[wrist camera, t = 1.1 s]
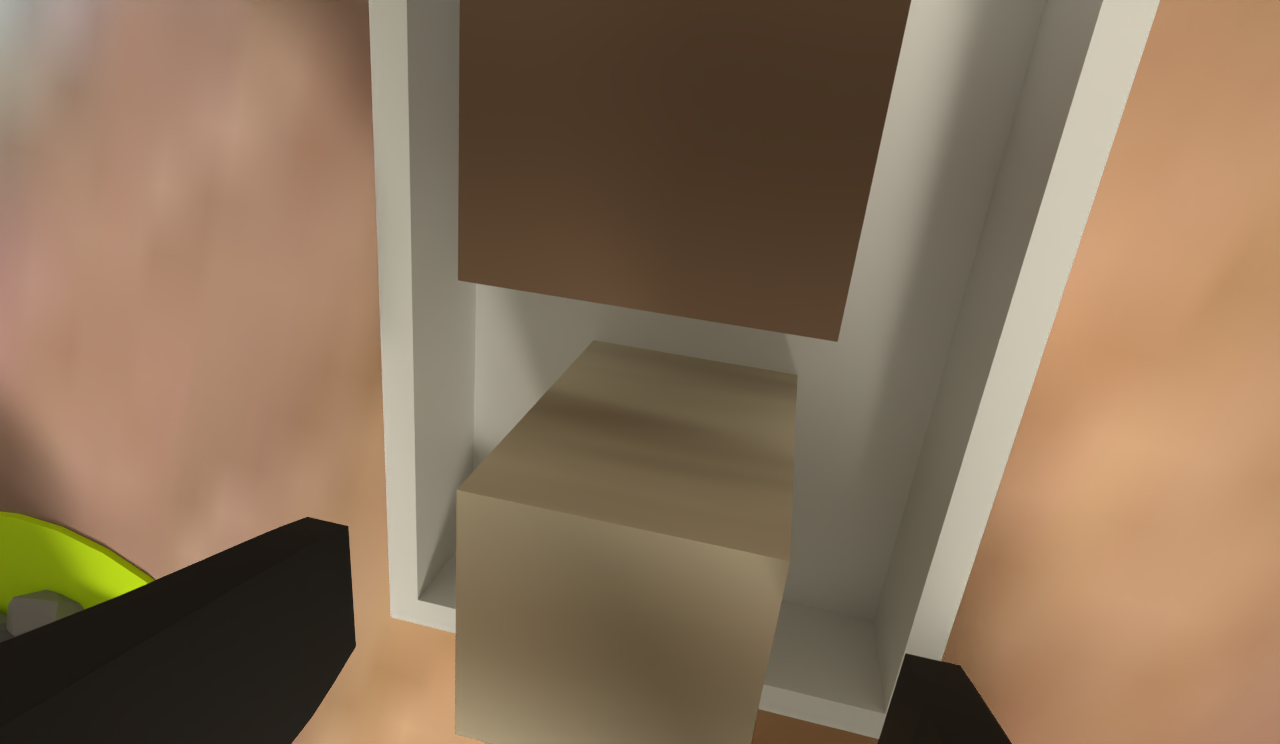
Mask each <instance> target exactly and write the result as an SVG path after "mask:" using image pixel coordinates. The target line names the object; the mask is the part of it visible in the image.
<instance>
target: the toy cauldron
mask: <svg viewBox="0 0 1280 744" xmlns="http://www.w3.org/2000/svg"><path fill="white" fill-rule="evenodd" d="M153 581H155V580H154V579H152V578H151V577H150V576H148V575H147V574H145V573H144V572H142V571H141V570H139V569H138V568H136V567H135V566H133V565H132V564H130V563H129V562H127V561H126V560H124V559H123V558H121V557H120V556H118V555H117V554H115V553H114V552H112V551H111V550H109V549H108V548H105V547H103V546H101V545H99V544H97V543H95V542H93V541H91V540H89V539H87V538H85V537H83V536H81V535H79V534H77V533H75V532H73V531H70V530H68V529H66V528H64V527H62V526H58V525H55V524H52V523H49V522H45V521H42V520H39V519H36V518H32V517H29V516H26V515H23V514H19V513H10V512H1V511H0V643H1V642H3V641H6V640H9V639H11V638H14V637H17V636H19V635H22V634H24V633H27V632H29V631H32V630H34V629H37V628H39V627H42V626H44V625H47V624H49V623H52V622H54V621H57V620H59V619H62V618H64V617H67V616H70V615H72V614H75V613H77V612H80V611H82V610H85V609H87V608H90V607H92V606H95V605H97V604H100V603H102V602H105V601H107V600H110V599H112V598H115V597H117V596H120V595H122V594H125V593H127V592H129V591H132V590H134V589H136V588H139V587H141V586H143V585H146V584H148V583H150V582H153Z"/></svg>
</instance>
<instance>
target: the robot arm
mask: <svg viewBox="0 0 1280 744" xmlns="http://www.w3.org/2000/svg"><path fill="white" fill-rule="evenodd" d="M355 647H356V641H355V626H354V610H353V594H352V578H351V563H350V547H349V531H348V526H345V525H341V524H336V523H332V522H327V521H323V520H319V519H314V518H310V517H306V518H303V519H301V520H298V521H295V522H292V523H289V524H287V525H284V526H282V527H279V528H277V529H274V530H272V531H269V532H267V533H264V534H262V535H260V536H257V537H255V538H253V539H250V540H248V541H245V542H243V543H241V544H239V545H236V546H234V547H232V548H229V549H227V550H225V551H222V552H220V553H218V554H215V555H213V556H211V557H209V558H206V559H204V560H202V561H199V562H197V563H195V564H192V565H190V566H188V567H185V568H183V569H181V570H178V571H176V572H174V573H171V574H169V575H167V576H164V577H162V578H160V579H157V580H155V581H153V582H150V583H148V584H146V585H143V586H141V587H139V588H136V589H134V590H132V591H129V592H127V593H125V594H122V595H120V596H117V597H115V598H112V599H110V600H107V601H105V602H102V603H100V604H97V605H95V606H92V607H90V608H87V609H85V610H82V611H80V612H77V613H75V614H72V615H70V616H67V617H64V618H62V619H59V620H57V621H54V622H52V623H49V624H47V625H44V626H42V627H39V628H37V629H34V630H32V631H29V632H27V633H24V634H22V635H19V636H17V637H14V638H11V639H9V640H6V641H3V642H1V643H0V744H291V743H292V742H293V741H294V739H295V738H296V737H297V736H298V734H299V733H300V732H301V730H302V729H303V728H304V727H305V725H306V724H307V723H308V721H309V720H310V719H311V717H312V716H313V714H314V713H315V711H316V710H317V708H318V707H319V705H320V704H321V702H322V701H323V699H324V697H325V696H326V694H327V693H328V691H329V690H330V688H331V687H332V685H333V683H334V682H335V680H336V678H337V677H338V675H339V673H340V672H341V670H342V668H343V667H344V665H345V663H346V662H347V660H348V658H349V657H350V655H351V653H352V652H353V650H354V648H355ZM878 744H1012V743H1011V742H1010V740H1009V739H1008V737H1007V735H1006V734H1005V732H1004V731H1003V729H1002V728H1001V726H1000V725H999V723H998V722H997V720H996V719H995V717H994V716H993V714H992V713H991V711H990V710H989V708H988V707H987V705H986V703H985V702H984V700H983V699H982V697H981V696H980V694H979V693H978V691H977V690H976V688H975V687H974V685H973V684H972V682H971V681H970V679H969V678H968V676H967V675H966V673H965V672H964V671H963V669H962V668H961V666H960V665H955V664H951V663H946V662H942V661H938V660H933V659H929V658H924V657H920V656H916V655H911V654H907V653H905V657H904V660H903V663H902V666H901V670H900V673H899V676H898V679H897V683H896V686H895V689H894V692H893V696H892V699H891V702H890V705H889V708H888V712H887V715H886V718H885V721H884V725H883V728H882V731H881V734H880V738H879V741H878Z"/></svg>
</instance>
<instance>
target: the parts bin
mask: <svg viewBox="0 0 1280 744" xmlns="http://www.w3.org/2000/svg"><path fill="white" fill-rule="evenodd" d="M1159 2H1160V0H911V4H910V9H909V14H908V18H907V23H906V28H905V32H904V37H903V41H902V46H901V51H900V55H899V60H898V65H897V69H896V74H895V78H894V83H893V88H892V92H891V97H890V102H889V106H888V111H887V115H886V120H885V125H884V129H883V134H882V139H881V143H880V148H879V153H878V157H877V162H876V166H875V171H874V176H873V180H872V185H871V190H870V194H869V199H868V203H867V208H866V213H865V217H864V222H863V227H862V231H861V236H860V240H859V245H858V250H857V254H856V259H855V264H854V268H853V273H852V278H851V282H850V287H849V291H848V296H847V301H846V305H845V310H844V315H843V319H842V324H841V328H840V333H839V338H838V342H835V341H829V340H823V339H816V338H810V337H804V336H798V335H792V334H785V333H779V332H773V331H767V330H761V329H755V328H748V327H742V326H736V325H730V324H724V323H718V322H711V321H705V320H699V319H693V318H687V317H680V316H674V315H668V314H662V313H656V312H650V311H643V310H637V309H631V308H625V307H619V306H613V305H606V304H600V303H594V302H588V301H582V300H575V299H569V298H563V297H557V296H551V295H545V294H538V293H532V292H526V291H520V290H514V289H508V288H501V287H495V286H489V285H483V284H477V283H470V282H464V281H458V184H459V27H460V0H369V24H370V52H371V80H372V108H373V136H374V164H375V191H376V219H377V247H378V275H379V303H380V331H381V359H382V386H383V414H384V442H385V470H386V498H387V526H388V554H389V581H390V609H391V617H392V618H396V619H400V620H404V621H408V622H412V623H416V624H420V625H424V626H428V627H432V628H436V629H440V630H444V631H448V632H452V633H456V498H457V489H458V488H459V487H460V486H461V484H462V483H463V482H464V481H465V480H466V479H467V478H468V477H469V476H470V475H471V474H472V472H473V471H474V470H475V469H476V468H477V467H478V466H479V465H480V464H481V463H482V461H483V460H484V459H485V458H486V457H487V456H488V455H489V454H490V453H491V452H492V451H493V449H494V448H495V447H496V446H497V445H498V444H499V443H500V442H501V441H502V440H503V439H504V437H505V436H506V435H507V434H508V433H509V432H510V431H511V430H512V429H513V428H514V427H515V425H516V424H517V423H518V422H519V421H520V420H521V419H522V418H523V417H524V416H525V415H526V413H527V412H528V411H529V410H530V409H531V408H532V407H533V406H534V405H535V404H536V402H537V401H538V400H539V399H540V398H541V397H542V396H543V395H544V394H545V393H546V392H547V390H548V389H549V388H550V387H551V386H552V385H553V384H554V383H555V382H556V381H557V380H558V378H559V377H560V376H561V375H562V374H563V373H564V372H565V371H566V370H567V369H568V368H569V366H570V365H571V364H572V363H573V362H574V361H575V360H576V359H577V358H578V357H579V356H580V354H581V353H582V352H583V351H584V350H585V349H586V348H587V347H588V346H589V345H590V343H591V342H592V341H593V340H596V341H602V342H607V343H613V344H619V345H625V346H631V347H637V348H642V349H648V350H654V351H660V352H666V353H672V354H678V355H683V356H689V357H695V358H701V359H707V360H713V361H719V362H724V363H730V364H736V365H742V366H748V367H754V368H759V369H765V370H771V371H777V372H783V373H789V374H795V375H797V400H796V426H795V451H794V477H793V502H792V528H791V553H790V564H789V569H788V574H787V578H786V583H785V588H784V592H783V597H782V602H781V606H780V611H779V615H778V620H777V625H776V629H775V634H774V639H773V643H772V648H771V652H770V657H769V662H768V666H767V671H766V676H765V680H764V685H763V689H762V694H761V699H760V703H759V708H758V709H760V710H764V711H768V712H772V713H776V714H780V715H784V716H788V717H792V718H796V719H800V720H804V721H808V722H812V723H816V724H820V725H824V726H828V727H832V728H836V729H840V730H844V731H848V732H852V733H856V734H860V735H864V736H868V737H872V738H876V739H879V738H880V734H881V731H882V728H883V725H884V721H885V718H886V715H887V712H888V708H889V705H890V702H891V699H892V696H893V692H894V689H895V686H896V683H897V679H898V676H899V673H900V670H901V666H902V663H903V660H904V657H905V653H907V654H911V655H916V656H920V657H924V658H929V659H933V660H938V661H941V660H942V657H943V654H944V651H945V647H946V644H947V641H948V638H949V635H950V632H951V629H952V626H953V623H954V620H955V617H956V614H957V611H958V608H959V605H960V602H961V599H962V596H963V593H964V590H965V587H966V584H967V581H968V578H969V575H970V572H971V569H972V566H973V563H974V560H975V557H976V554H977V551H978V548H979V545H980V542H981V539H982V536H983V533H984V530H985V527H986V524H987V521H988V518H989V515H990V512H991V509H992V506H993V503H994V500H995V497H996V494H997V491H998V488H999V485H1000V482H1001V479H1002V476H1003V472H1004V469H1005V466H1006V463H1007V460H1008V457H1009V454H1010V451H1011V448H1012V445H1013V442H1014V439H1015V436H1016V433H1017V430H1018V427H1019V424H1020V421H1021V418H1022V415H1023V412H1024V409H1025V406H1026V403H1027V400H1028V397H1029V394H1030V391H1031V388H1032V385H1033V382H1034V379H1035V376H1036V373H1037V370H1038V367H1039V364H1040V361H1041V358H1042V355H1043V352H1044V349H1045V346H1046V343H1047V340H1048V337H1049V334H1050V331H1051V328H1052V325H1053V322H1054V319H1055V316H1056V313H1057V310H1058V307H1059V304H1060V301H1061V297H1062V294H1063V291H1064V288H1065V285H1066V282H1067V279H1068V276H1069V273H1070V270H1071V267H1072V264H1073V261H1074V258H1075V255H1076V252H1077V249H1078V246H1079V243H1080V240H1081V237H1082V234H1083V231H1084V228H1085V225H1086V222H1087V219H1088V216H1089V213H1090V210H1091V207H1092V204H1093V201H1094V198H1095V195H1096V192H1097V189H1098V186H1099V183H1100V180H1101V177H1102V174H1103V171H1104V168H1105V165H1106V162H1107V159H1108V156H1109V153H1110V150H1111V147H1112V144H1113V141H1114V138H1115V135H1116V132H1117V129H1118V126H1119V122H1120V119H1121V116H1122V113H1123V110H1124V107H1125V104H1126V101H1127V98H1128V95H1129V92H1130V89H1131V86H1132V83H1133V80H1134V77H1135V74H1136V71H1137V68H1138V65H1139V62H1140V59H1141V56H1142V53H1143V50H1144V47H1145V44H1146V41H1147V38H1148V35H1149V32H1150V29H1151V26H1152V23H1153V20H1154V17H1155V14H1156V11H1157V8H1158V5H1159Z"/></svg>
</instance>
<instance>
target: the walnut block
mask: <svg viewBox="0 0 1280 744" xmlns="http://www.w3.org/2000/svg"><path fill="white" fill-rule="evenodd" d="M910 4H911V0H460V27H459V184H458V281H464V282H470V283H477V284H483V285H489V286H495V287H501V288H508V289H514V290H520V291H526V292H532V293H538V294H545V295H551V296H557V297H563V298H569V299H575V300H582V301H588V302H594V303H600V304H606V305H613V306H619V307H625V308H631V309H637V310H643V311H650V312H656V313H662V314H668V315H674V316H680V317H687V318H693V319H699V320H705V321H711V322H718V323H724V324H730V325H736V326H742V327H748V328H755V329H761V330H767V331H773V332H779V333H785V334H792V335H798V336H804V337H810V338H816V339H823V340H829V341H835V342H838V338H839V333H840V328H841V324H842V319H843V315H844V310H845V305H846V301H847V296H848V291H849V287H850V282H851V278H852V273H853V268H854V264H855V259H856V254H857V250H858V245H859V240H860V236H861V231H862V227H863V222H864V217H865V213H866V208H867V203H868V199H869V194H870V190H871V185H872V180H873V176H874V171H875V166H876V162H877V157H878V153H879V148H880V143H881V139H882V134H883V129H884V125H885V120H886V115H887V111H888V106H889V102H890V97H891V92H892V88H893V83H894V78H895V74H896V69H897V65H898V60H899V55H900V51H901V46H902V41H903V37H904V32H905V28H906V23H907V18H908V14H909V9H910Z"/></svg>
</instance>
